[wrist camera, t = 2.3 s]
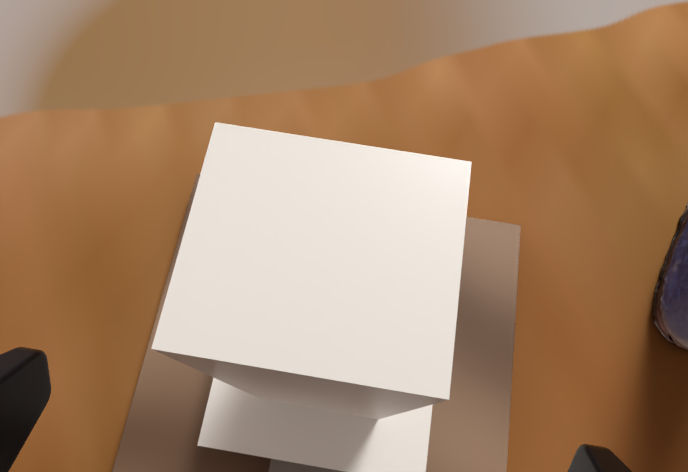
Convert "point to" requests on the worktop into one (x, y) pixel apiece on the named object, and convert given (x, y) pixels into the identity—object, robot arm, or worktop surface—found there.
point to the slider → (319, 297)
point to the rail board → (447, 417)
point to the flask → (674, 289)
